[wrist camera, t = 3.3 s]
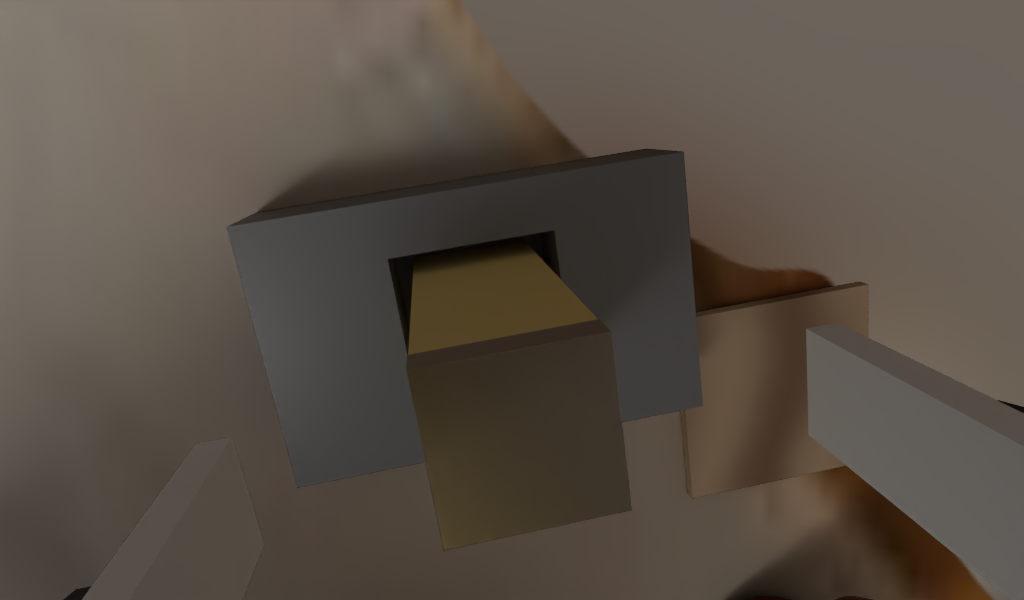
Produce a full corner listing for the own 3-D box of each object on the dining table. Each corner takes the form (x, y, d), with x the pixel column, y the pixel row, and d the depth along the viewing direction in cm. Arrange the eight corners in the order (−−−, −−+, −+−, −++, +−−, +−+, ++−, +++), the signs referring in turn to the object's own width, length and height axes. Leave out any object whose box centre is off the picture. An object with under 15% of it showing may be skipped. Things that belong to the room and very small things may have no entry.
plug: (433, 360, 28) (443, 550, 15) (413, 257, 26) (406, 370, 14) (538, 341, 28) (631, 510, 15) (522, 238, 27) (611, 331, 14)
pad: (687, 492, 31) (692, 498, 31) (672, 316, 29) (677, 320, 28) (860, 454, 32) (868, 460, 32) (859, 281, 30) (868, 284, 29)
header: (314, 439, 28) (297, 488, 24) (255, 212, 26) (226, 226, 22) (666, 370, 30) (702, 405, 26) (646, 148, 27) (683, 151, 23)
